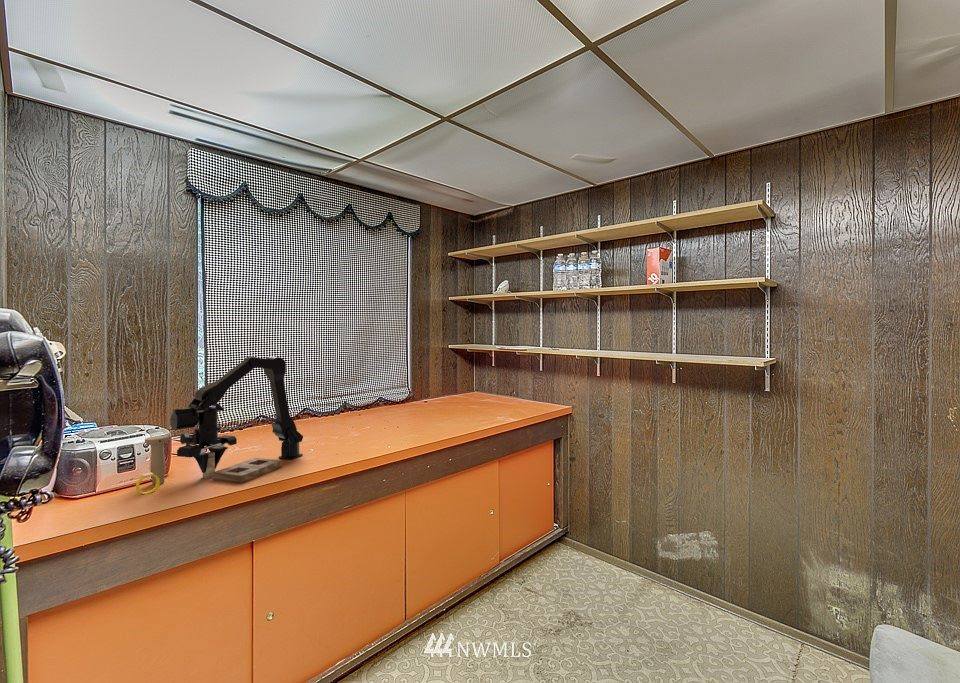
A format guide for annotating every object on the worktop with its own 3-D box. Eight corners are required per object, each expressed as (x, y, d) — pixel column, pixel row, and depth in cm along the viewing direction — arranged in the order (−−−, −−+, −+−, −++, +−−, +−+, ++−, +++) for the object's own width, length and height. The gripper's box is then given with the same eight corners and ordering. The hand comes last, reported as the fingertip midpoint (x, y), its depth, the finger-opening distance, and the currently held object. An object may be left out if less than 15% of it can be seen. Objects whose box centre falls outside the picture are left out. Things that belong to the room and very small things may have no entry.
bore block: (254, 464, 168) (254, 457, 168) (281, 467, 165) (281, 460, 165) (213, 479, 151) (212, 472, 151) (242, 483, 148) (241, 475, 147)
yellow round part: (140, 497, 136) (137, 478, 136) (135, 495, 138) (133, 476, 137) (162, 489, 142) (160, 471, 141) (157, 488, 143) (155, 470, 142)
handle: (172, 482, 149) (171, 436, 148) (149, 487, 144) (148, 440, 143) (166, 479, 152) (165, 434, 151) (143, 484, 146) (142, 438, 146)
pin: (209, 474, 157) (208, 451, 156) (217, 475, 155) (217, 452, 155) (199, 478, 153) (199, 454, 153) (208, 479, 152) (208, 455, 152)
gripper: (212, 418, 165) (213, 461, 165) (163, 429, 147) (164, 477, 148) (237, 420, 162) (238, 463, 162) (190, 431, 144) (191, 480, 144)
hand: (208, 470), depth 154 cm, fingers closed on pin, 4 cm apart
